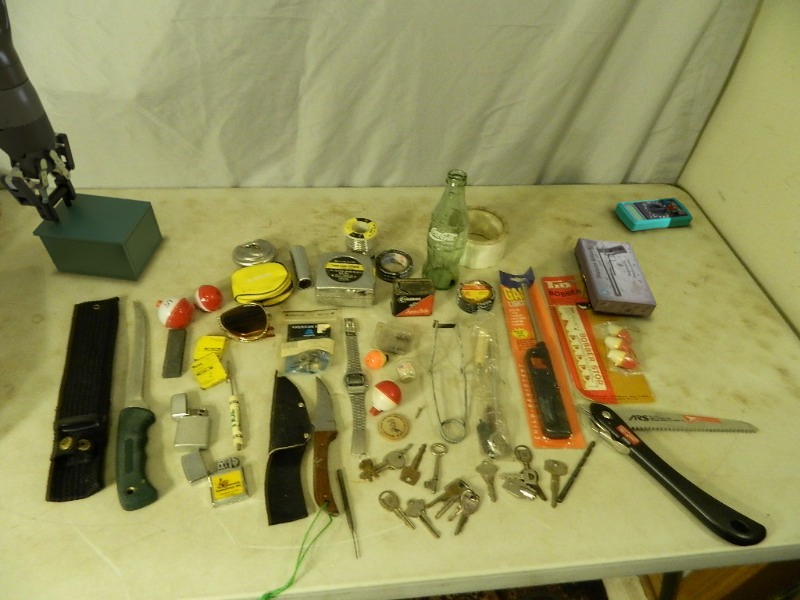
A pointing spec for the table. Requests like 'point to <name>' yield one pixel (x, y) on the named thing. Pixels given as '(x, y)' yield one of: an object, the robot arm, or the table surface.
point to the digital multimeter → (653, 214)
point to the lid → (92, 218)
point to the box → (614, 278)
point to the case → (108, 253)
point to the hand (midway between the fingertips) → (60, 208)
